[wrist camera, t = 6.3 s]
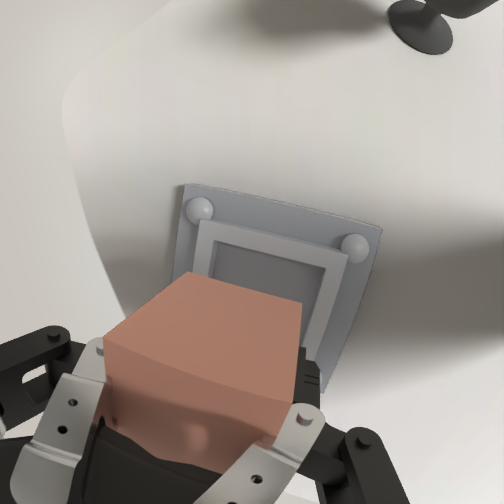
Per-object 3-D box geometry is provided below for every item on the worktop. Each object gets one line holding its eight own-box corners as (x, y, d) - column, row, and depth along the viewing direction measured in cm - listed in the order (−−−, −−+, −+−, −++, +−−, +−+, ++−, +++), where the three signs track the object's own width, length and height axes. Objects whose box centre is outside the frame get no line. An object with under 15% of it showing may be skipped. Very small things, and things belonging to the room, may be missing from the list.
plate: (378, 226, 17) (386, 232, 15) (323, 383, 20) (323, 402, 18) (192, 183, 18) (178, 183, 16) (172, 340, 22) (159, 354, 20)
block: (302, 303, 12) (292, 403, 6) (272, 391, 13) (248, 492, 7) (187, 271, 12) (102, 336, 7) (176, 361, 14) (115, 443, 8)
